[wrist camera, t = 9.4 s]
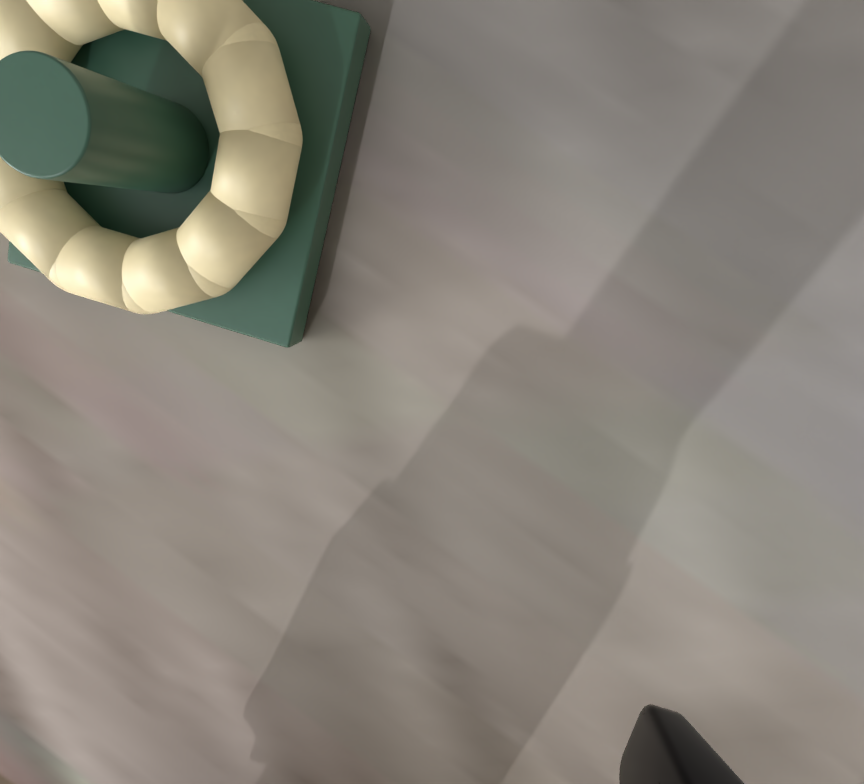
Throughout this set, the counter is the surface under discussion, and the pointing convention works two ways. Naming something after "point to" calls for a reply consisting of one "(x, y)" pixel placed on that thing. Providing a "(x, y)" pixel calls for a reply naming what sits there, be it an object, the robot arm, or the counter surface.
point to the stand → (187, 146)
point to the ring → (233, 173)
